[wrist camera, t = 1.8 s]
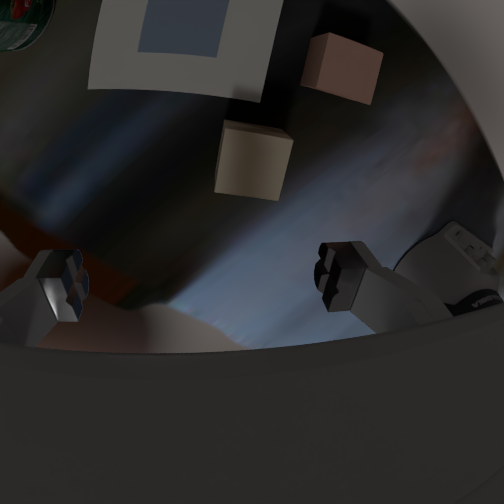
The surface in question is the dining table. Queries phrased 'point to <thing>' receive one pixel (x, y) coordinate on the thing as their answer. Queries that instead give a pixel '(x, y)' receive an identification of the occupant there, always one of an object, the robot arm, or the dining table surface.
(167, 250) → the dining table surface
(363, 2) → the dining table surface
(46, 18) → the canned tomato
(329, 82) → the terracotta block
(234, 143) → the birch block
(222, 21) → the white flat square slab
